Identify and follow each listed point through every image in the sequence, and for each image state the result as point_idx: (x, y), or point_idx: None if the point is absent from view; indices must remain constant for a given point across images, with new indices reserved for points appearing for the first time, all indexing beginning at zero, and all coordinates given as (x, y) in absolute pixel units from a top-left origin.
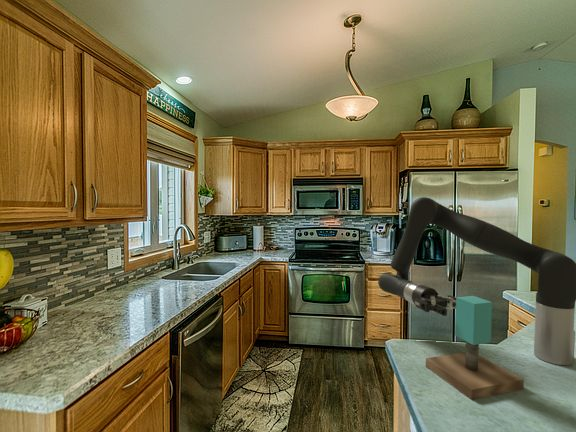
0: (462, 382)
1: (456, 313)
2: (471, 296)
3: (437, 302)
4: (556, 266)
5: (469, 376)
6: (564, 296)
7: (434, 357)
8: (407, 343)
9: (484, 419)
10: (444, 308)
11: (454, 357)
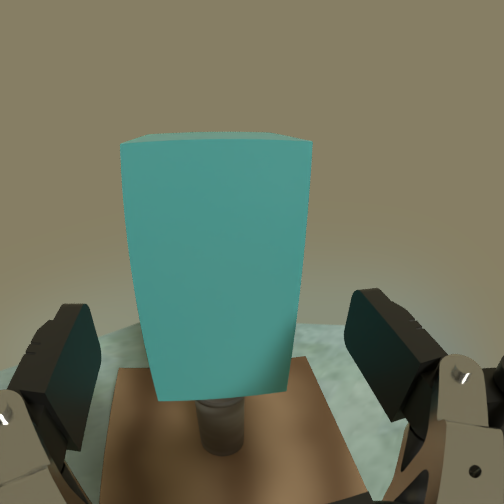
0: (312, 379)
1: (299, 267)
2: (157, 139)
3: (377, 501)
4: None
5: (269, 401)
6: None
7: None
8: None
9: (308, 336)
10: (374, 289)
11: None
